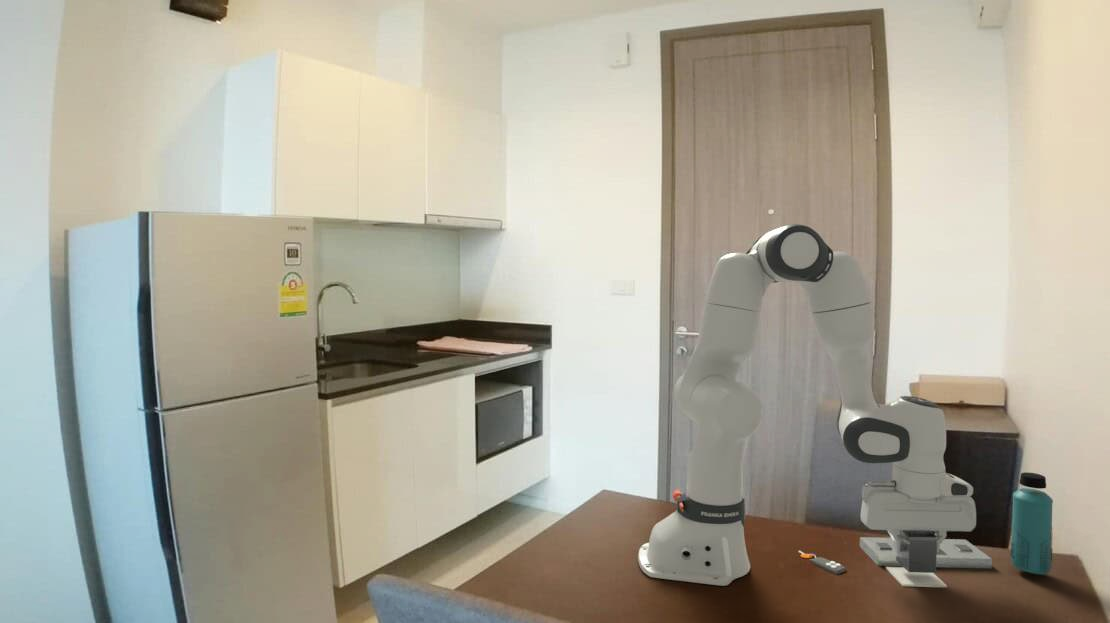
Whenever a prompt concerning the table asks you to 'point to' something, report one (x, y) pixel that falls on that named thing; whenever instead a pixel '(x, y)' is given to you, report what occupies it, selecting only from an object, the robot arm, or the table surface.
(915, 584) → the pad
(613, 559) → the table surface
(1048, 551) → the beverage bottle
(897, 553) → the dark grey box
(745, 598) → the table surface
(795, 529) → the table surface
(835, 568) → the key chain
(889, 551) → the cabinet panel
